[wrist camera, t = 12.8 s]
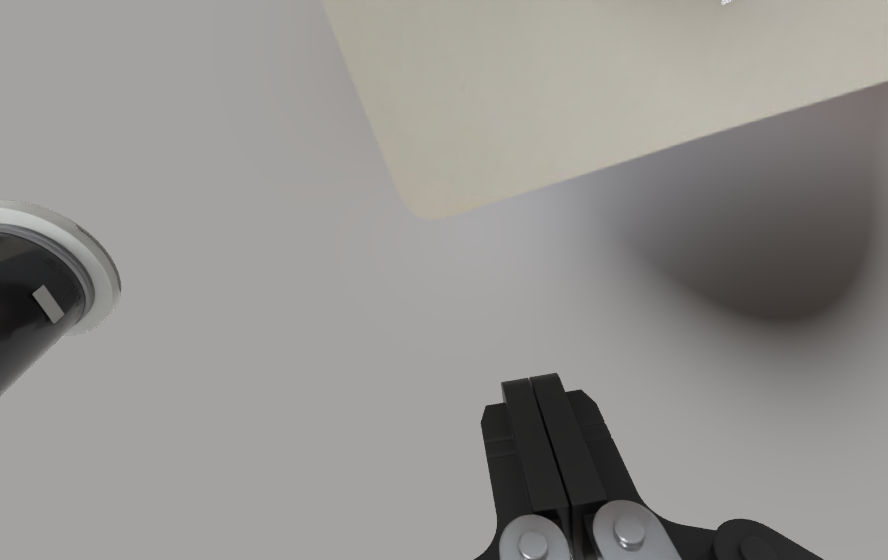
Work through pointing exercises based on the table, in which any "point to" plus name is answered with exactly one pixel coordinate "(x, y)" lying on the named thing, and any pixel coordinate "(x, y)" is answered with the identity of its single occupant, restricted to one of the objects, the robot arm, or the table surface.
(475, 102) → the table surface
